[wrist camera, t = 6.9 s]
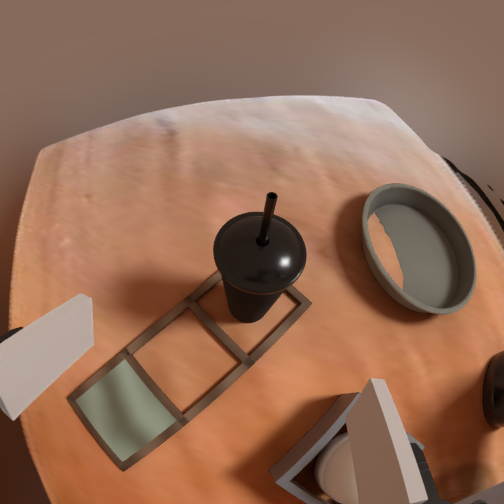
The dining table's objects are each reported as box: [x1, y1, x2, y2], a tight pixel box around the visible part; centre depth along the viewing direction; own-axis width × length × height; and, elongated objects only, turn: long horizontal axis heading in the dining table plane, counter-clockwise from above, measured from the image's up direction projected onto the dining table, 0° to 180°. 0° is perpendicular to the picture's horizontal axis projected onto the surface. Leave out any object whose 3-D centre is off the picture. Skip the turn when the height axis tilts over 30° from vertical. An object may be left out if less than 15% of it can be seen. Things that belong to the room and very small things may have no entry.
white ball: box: [314, 432, 359, 504], centre depth 19 cm, size 9×9×9 cm
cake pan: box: [362, 183, 476, 315], centre depth 39 cm, size 25×25×4 cm
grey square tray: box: [268, 392, 425, 504], centre depth 22 cm, size 13×13×5 cm
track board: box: [67, 271, 312, 471], centre depth 29 cm, size 32×12×1 cm, turn 135°
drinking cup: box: [213, 192, 306, 323], centre depth 25 cm, size 8×8×20 cm
